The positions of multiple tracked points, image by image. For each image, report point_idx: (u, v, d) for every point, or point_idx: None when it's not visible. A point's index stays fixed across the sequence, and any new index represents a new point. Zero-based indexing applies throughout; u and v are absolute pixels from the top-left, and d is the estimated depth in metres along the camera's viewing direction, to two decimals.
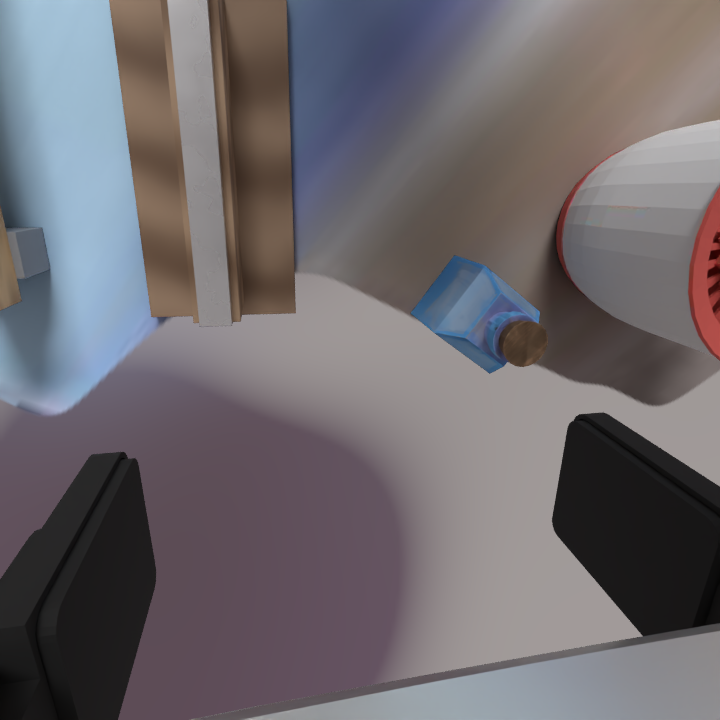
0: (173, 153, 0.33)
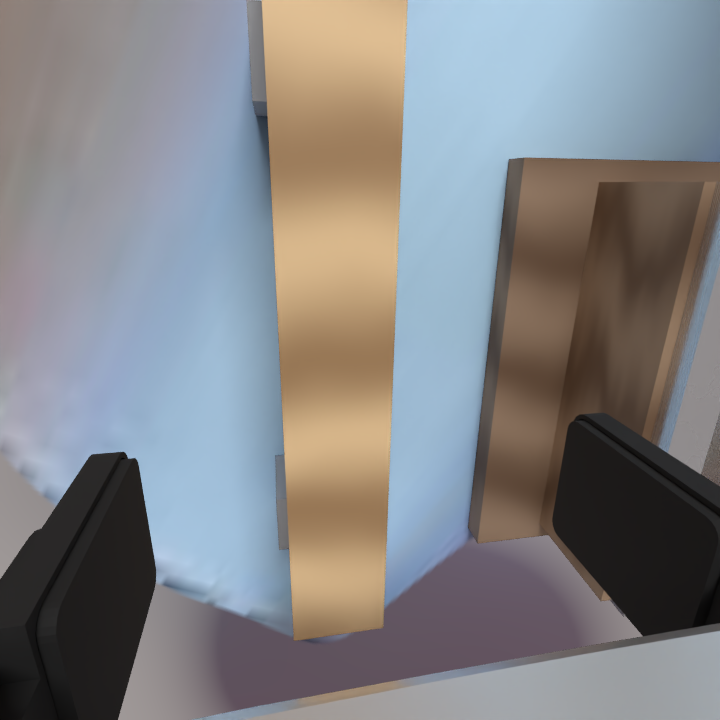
0: (548, 365, 0.26)
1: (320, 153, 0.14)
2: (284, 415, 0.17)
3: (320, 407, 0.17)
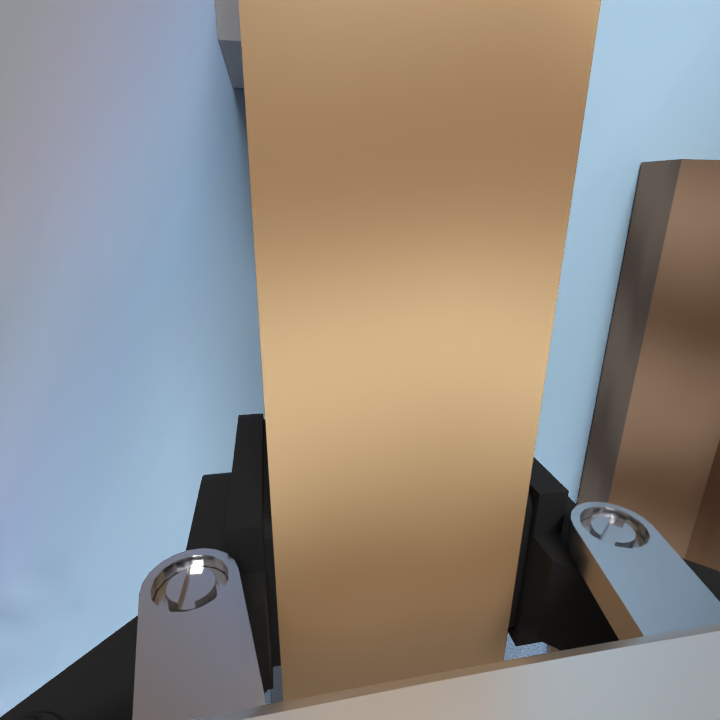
0: (683, 473, 0.17)
1: (382, 138, 0.05)
2: (287, 698, 0.08)
3: (361, 674, 0.08)
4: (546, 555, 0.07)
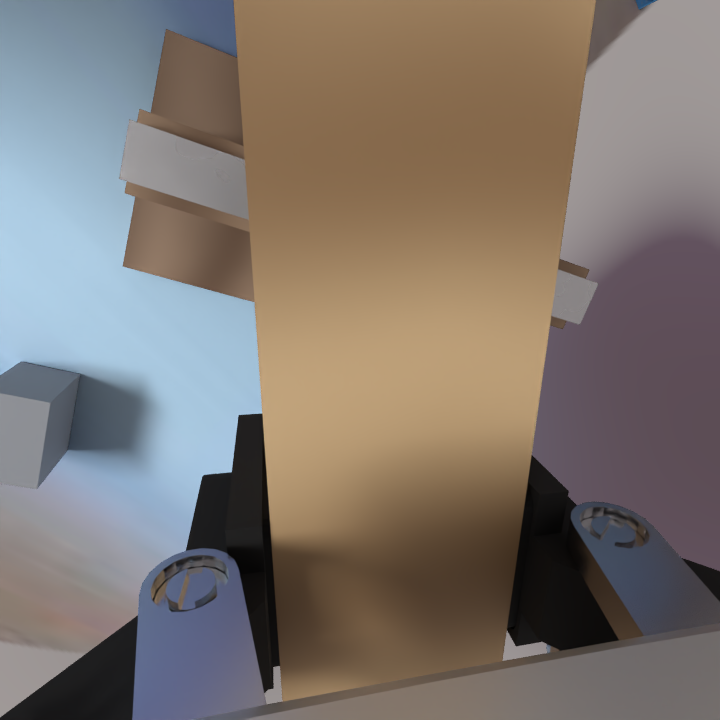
0: None
1: (379, 146, 0.05)
2: None
3: (360, 677, 0.08)
4: (546, 555, 0.07)
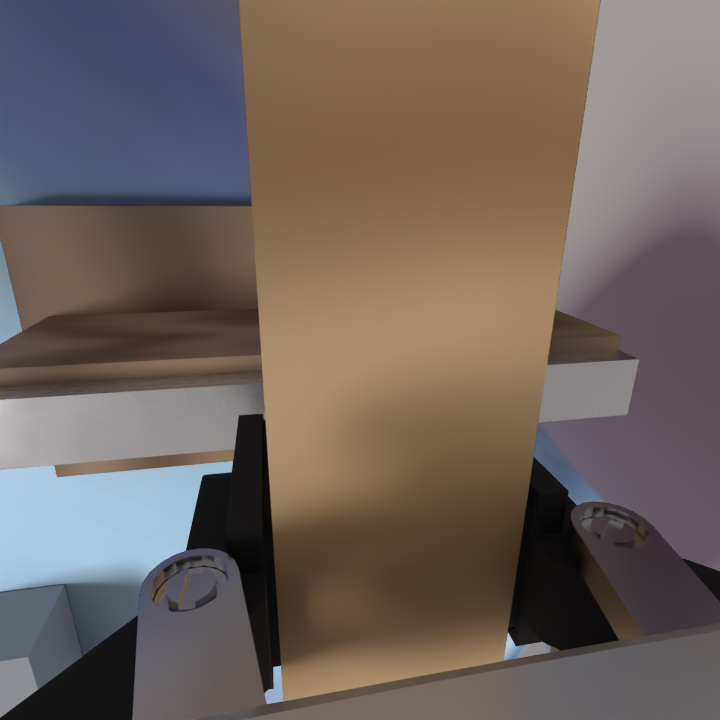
0: None
1: (382, 144, 0.05)
2: (287, 700, 0.08)
3: (361, 676, 0.08)
4: (546, 555, 0.07)
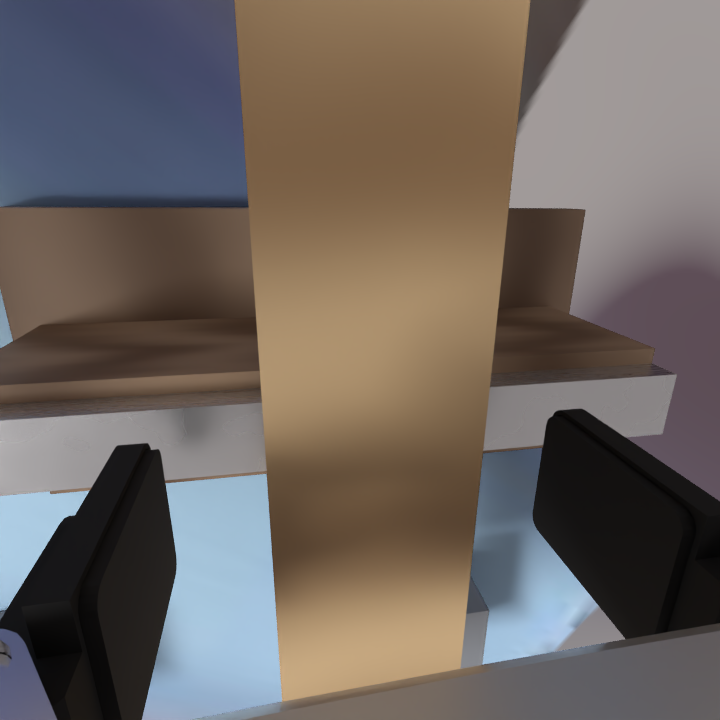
0: None
1: (353, 152, 0.07)
2: (280, 625, 0.09)
3: (344, 606, 0.10)
4: (717, 582, 0.07)
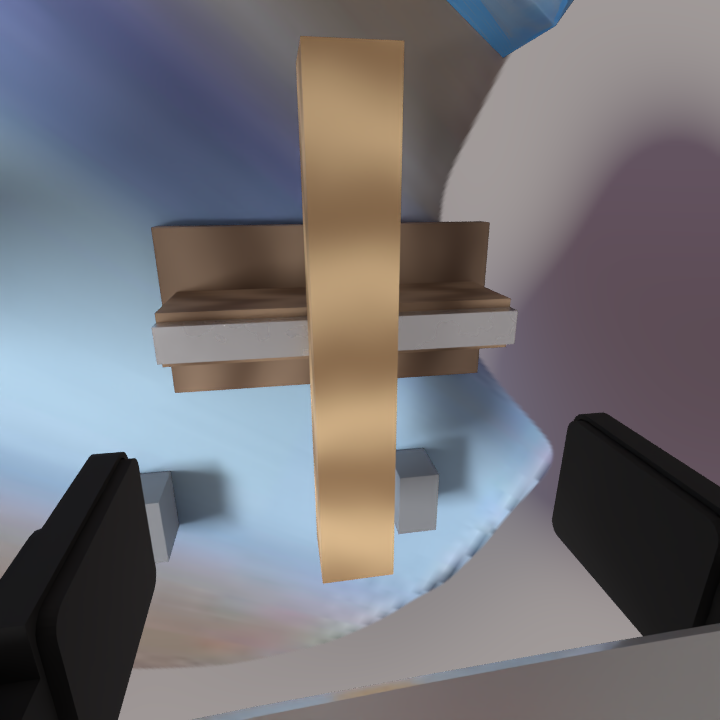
0: None
1: (343, 214, 0.20)
2: (316, 402, 0.23)
3: (343, 396, 0.23)
4: None
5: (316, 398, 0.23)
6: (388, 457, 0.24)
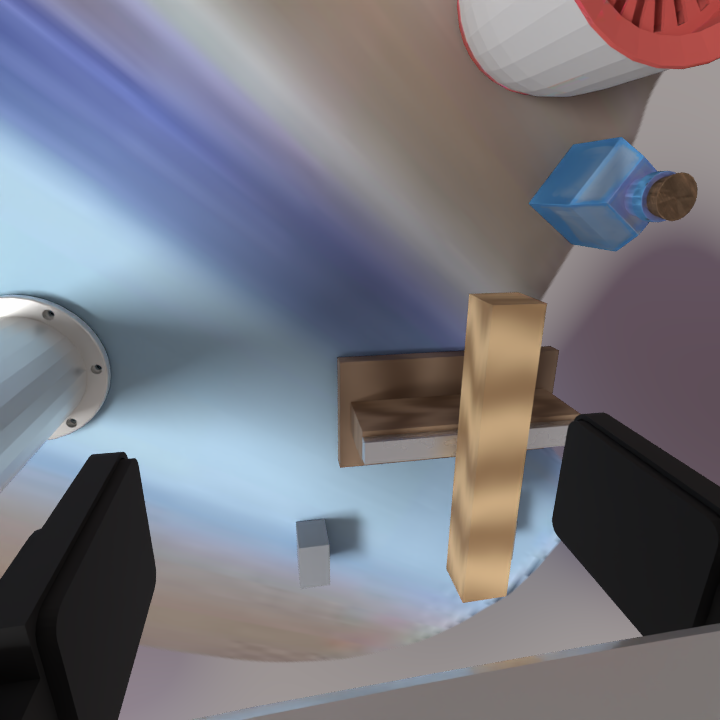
0: None
1: (503, 391, 0.34)
2: (474, 493, 0.37)
3: (490, 489, 0.37)
4: None
5: (474, 491, 0.37)
6: (511, 524, 0.39)
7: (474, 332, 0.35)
